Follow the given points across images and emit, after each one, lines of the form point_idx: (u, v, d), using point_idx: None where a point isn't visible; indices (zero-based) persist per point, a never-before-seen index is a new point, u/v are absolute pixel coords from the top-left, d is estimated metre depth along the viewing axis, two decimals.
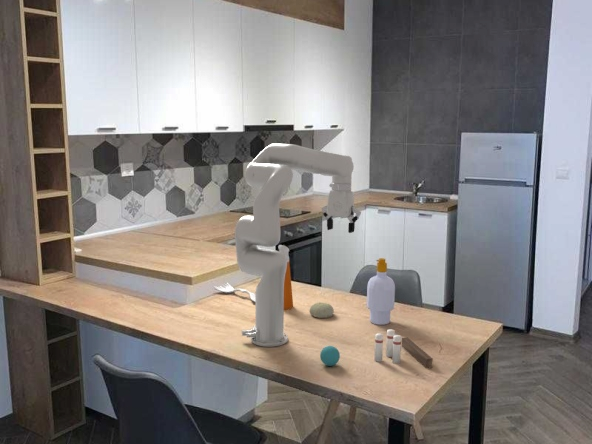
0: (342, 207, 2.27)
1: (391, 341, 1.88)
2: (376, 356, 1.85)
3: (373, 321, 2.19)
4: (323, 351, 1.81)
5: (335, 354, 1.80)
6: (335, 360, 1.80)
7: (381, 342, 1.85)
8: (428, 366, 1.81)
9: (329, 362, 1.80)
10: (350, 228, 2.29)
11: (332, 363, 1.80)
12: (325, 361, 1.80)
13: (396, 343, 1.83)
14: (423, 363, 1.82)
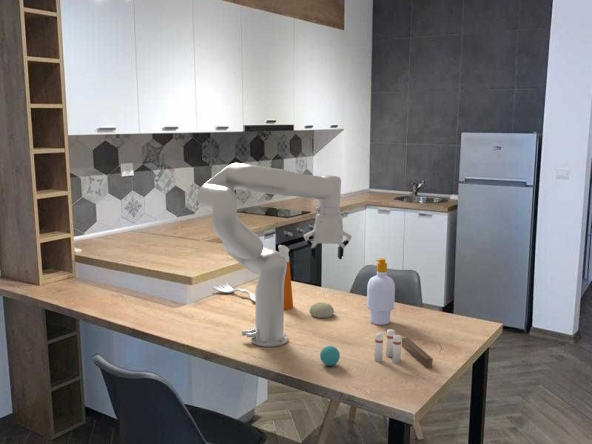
0: (336, 232, 2.07)
1: (391, 341, 1.88)
2: (376, 356, 1.85)
3: (373, 321, 2.19)
4: (323, 351, 1.81)
5: (335, 354, 1.80)
6: (335, 360, 1.80)
7: (381, 342, 1.85)
8: (428, 366, 1.81)
9: (329, 362, 1.80)
10: (341, 254, 2.11)
11: (332, 363, 1.80)
12: (325, 361, 1.80)
13: (396, 343, 1.83)
14: (423, 363, 1.82)
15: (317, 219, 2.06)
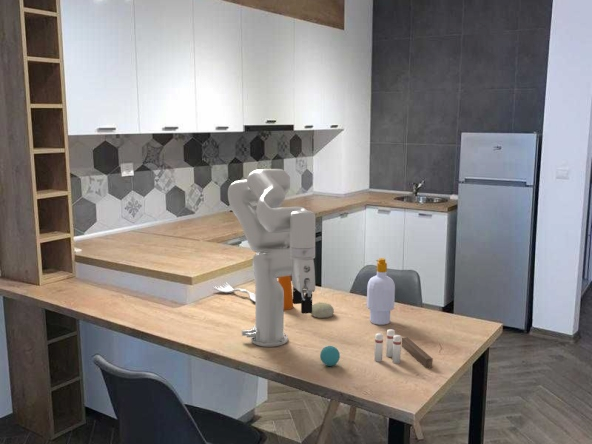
0: None
1: (391, 341, 1.88)
2: (376, 356, 1.85)
3: (373, 321, 2.19)
4: (323, 351, 1.81)
5: (335, 354, 1.80)
6: (335, 360, 1.80)
7: (381, 342, 1.85)
8: (428, 366, 1.81)
9: (329, 362, 1.80)
10: None
11: (332, 363, 1.80)
12: (325, 361, 1.80)
13: (396, 343, 1.83)
14: (423, 363, 1.82)
15: (312, 264, 1.72)
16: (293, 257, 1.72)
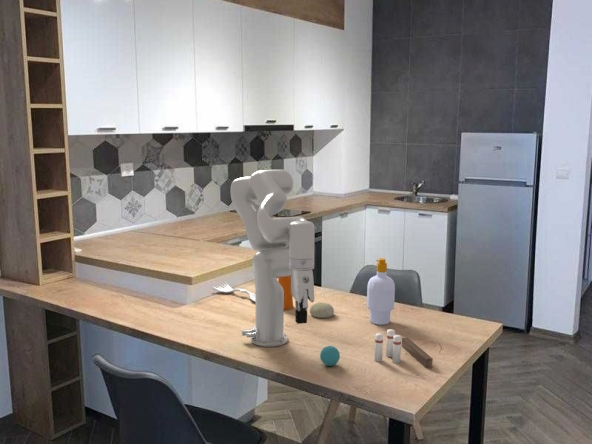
0: None
1: (391, 341, 1.88)
2: (376, 356, 1.85)
3: (373, 321, 2.19)
4: (323, 351, 1.81)
5: (335, 354, 1.80)
6: (335, 360, 1.80)
7: (381, 342, 1.85)
8: (428, 366, 1.81)
9: (329, 362, 1.80)
10: None
11: (332, 363, 1.80)
12: (325, 361, 1.80)
13: (396, 343, 1.83)
14: (423, 363, 1.82)
15: (311, 275, 1.71)
16: (292, 268, 1.72)
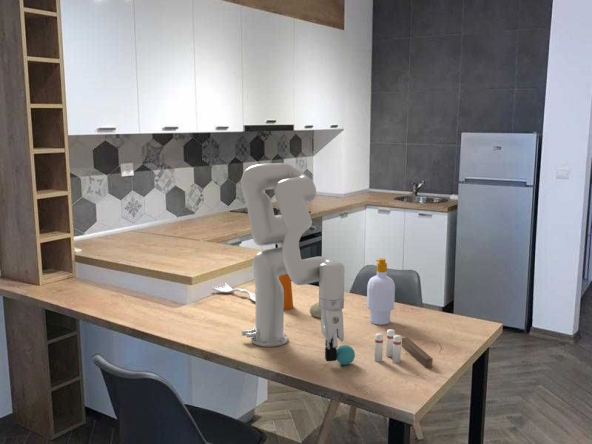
0: None
1: (391, 341, 1.88)
2: (376, 356, 1.85)
3: (373, 321, 2.19)
4: (349, 347, 1.82)
5: (351, 359, 1.81)
6: (346, 361, 1.81)
7: (381, 342, 1.85)
8: (428, 366, 1.81)
9: (343, 357, 1.80)
10: None
11: (343, 360, 1.80)
12: (342, 353, 1.80)
13: (396, 343, 1.83)
14: (423, 363, 1.82)
15: (341, 315, 1.75)
16: (322, 308, 1.77)
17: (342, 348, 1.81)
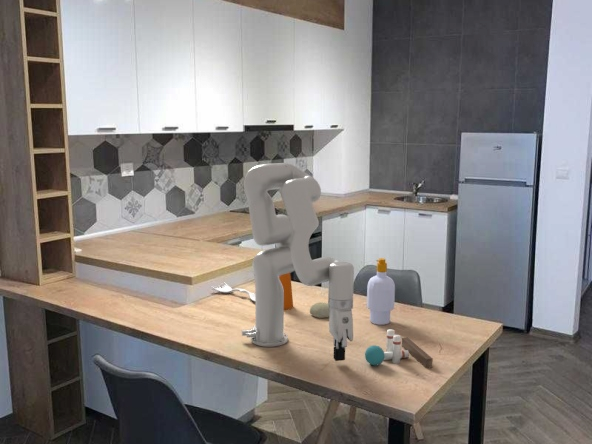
0: None
1: (391, 341, 1.88)
2: (388, 353, 1.86)
3: (373, 321, 2.19)
4: None
5: (371, 361, 1.81)
6: (376, 360, 1.80)
7: (402, 356, 1.87)
8: (428, 366, 1.81)
9: (379, 363, 1.81)
10: None
11: (380, 361, 1.81)
12: (380, 363, 1.82)
13: (396, 343, 1.83)
14: (423, 363, 1.82)
15: (351, 315, 1.77)
16: (332, 308, 1.78)
17: None
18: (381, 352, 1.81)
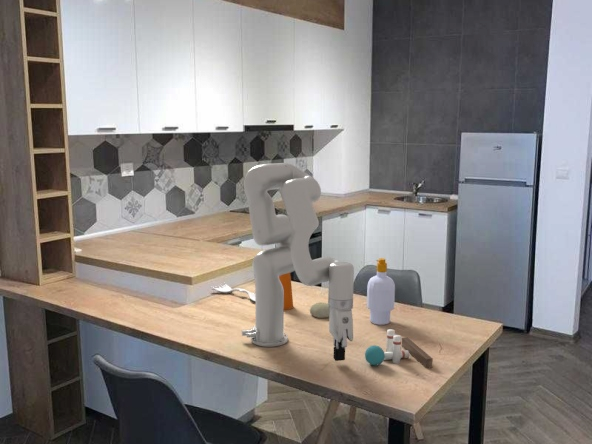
0: None
1: (391, 341, 1.88)
2: (388, 354, 1.86)
3: (373, 321, 2.19)
4: None
5: (371, 361, 1.81)
6: (376, 360, 1.80)
7: (402, 357, 1.87)
8: (428, 366, 1.81)
9: (379, 363, 1.81)
10: None
11: (380, 361, 1.81)
12: (380, 363, 1.82)
13: (396, 343, 1.83)
14: (423, 363, 1.82)
15: (351, 315, 1.77)
16: (332, 308, 1.78)
17: None
18: (381, 352, 1.81)
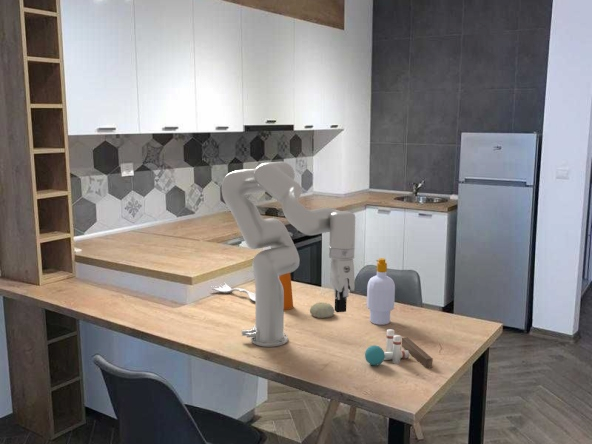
0: None
1: (391, 341, 1.88)
2: (388, 354, 1.86)
3: (373, 321, 2.19)
4: None
5: (371, 361, 1.81)
6: (376, 360, 1.80)
7: (402, 357, 1.87)
8: (428, 366, 1.81)
9: (379, 363, 1.81)
10: None
11: (380, 361, 1.81)
12: (380, 363, 1.82)
13: (396, 343, 1.83)
14: (423, 363, 1.82)
15: (352, 264, 1.74)
16: (333, 257, 1.75)
17: None
18: (381, 352, 1.81)
